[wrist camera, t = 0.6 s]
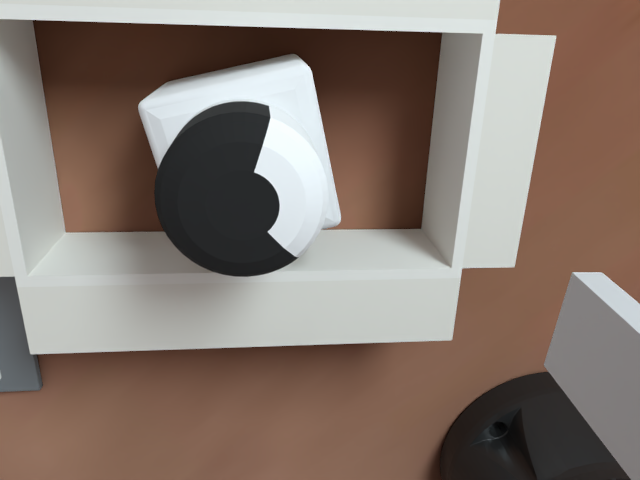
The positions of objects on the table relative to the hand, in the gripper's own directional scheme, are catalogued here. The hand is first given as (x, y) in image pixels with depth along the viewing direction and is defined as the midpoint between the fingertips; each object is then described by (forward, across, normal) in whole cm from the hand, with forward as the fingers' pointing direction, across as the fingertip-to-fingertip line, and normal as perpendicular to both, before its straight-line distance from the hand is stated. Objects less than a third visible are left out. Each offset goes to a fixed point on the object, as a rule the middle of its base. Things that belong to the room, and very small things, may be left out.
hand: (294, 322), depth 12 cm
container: (+22, +1, +1) cm, 22 cm away
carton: (+21, +1, +1) cm, 21 cm away
